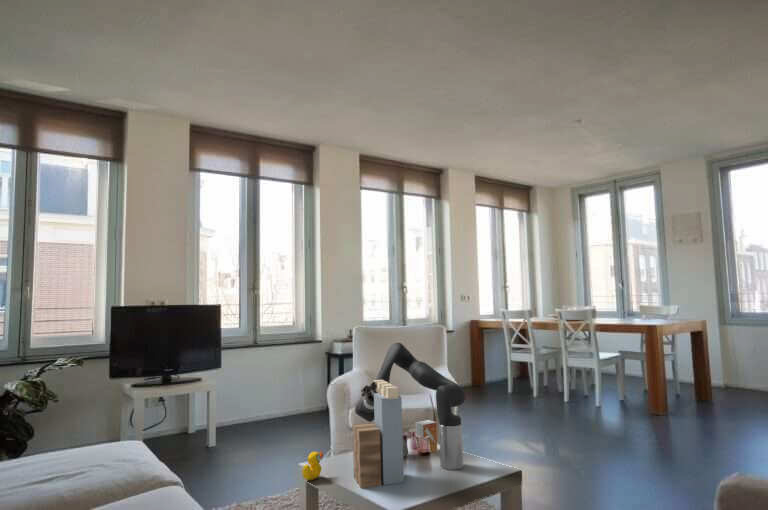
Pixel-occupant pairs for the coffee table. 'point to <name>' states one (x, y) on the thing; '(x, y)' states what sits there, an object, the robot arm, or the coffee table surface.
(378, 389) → the beam
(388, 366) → the robot arm
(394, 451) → the tall tower
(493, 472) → the coffee table surface
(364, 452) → the brown wooden block
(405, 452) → the mineral specimen
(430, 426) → the small box
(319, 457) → the duckling
